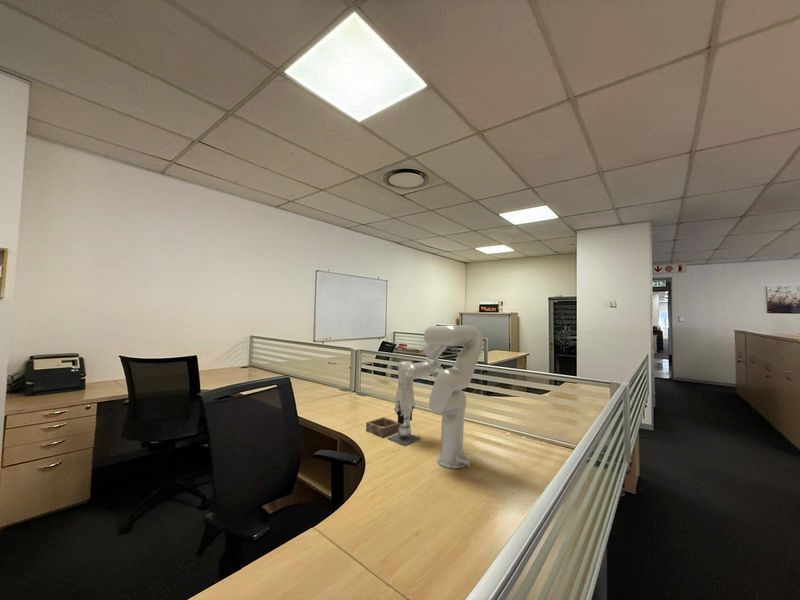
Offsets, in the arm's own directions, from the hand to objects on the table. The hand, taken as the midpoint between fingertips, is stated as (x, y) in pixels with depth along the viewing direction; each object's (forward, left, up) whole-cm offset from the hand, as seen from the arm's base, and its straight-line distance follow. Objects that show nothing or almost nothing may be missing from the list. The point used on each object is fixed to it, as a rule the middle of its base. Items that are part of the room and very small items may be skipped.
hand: (404, 421), depth 164 cm
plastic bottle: (0, 0, -8) cm, 8 cm away
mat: (0, 0, -9) cm, 9 cm away
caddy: (+15, 0, -9) cm, 18 cm away
